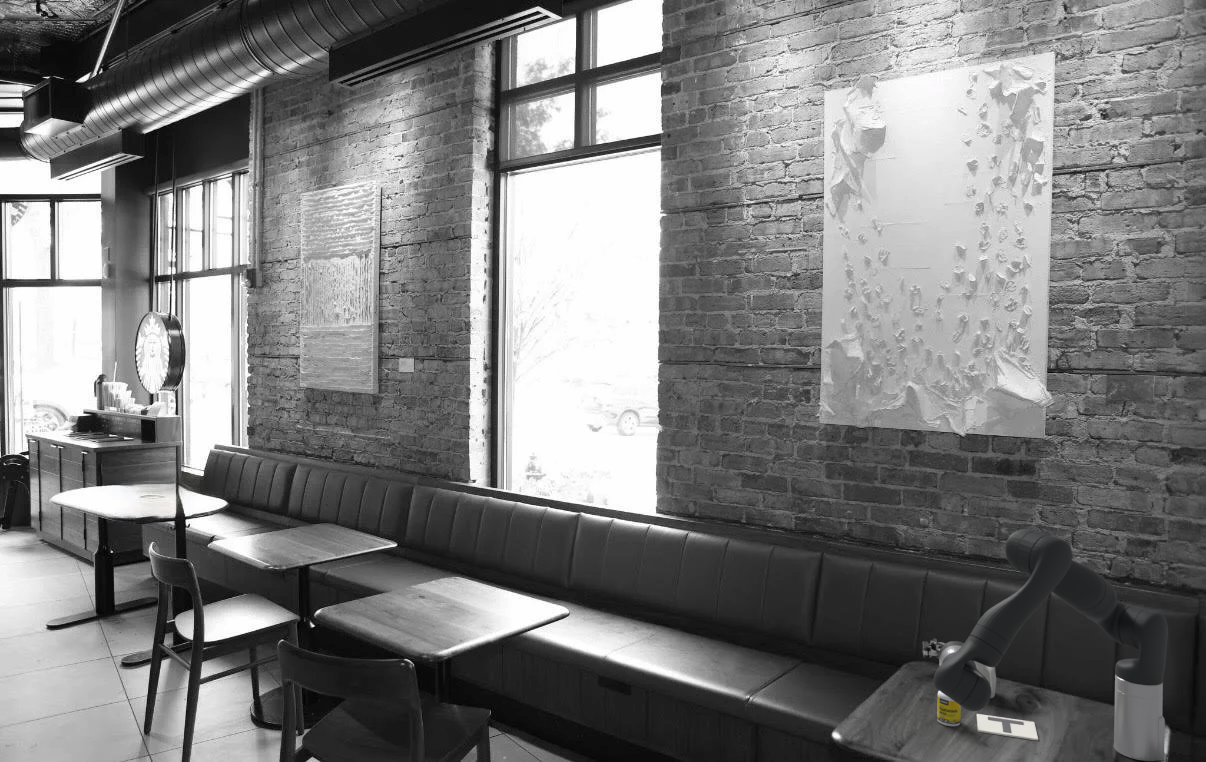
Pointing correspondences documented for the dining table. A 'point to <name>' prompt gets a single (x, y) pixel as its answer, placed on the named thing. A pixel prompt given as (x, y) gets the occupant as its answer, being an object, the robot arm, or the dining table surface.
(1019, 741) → the dining table surface
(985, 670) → the mug
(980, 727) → the letter card
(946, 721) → the supplement bottle
